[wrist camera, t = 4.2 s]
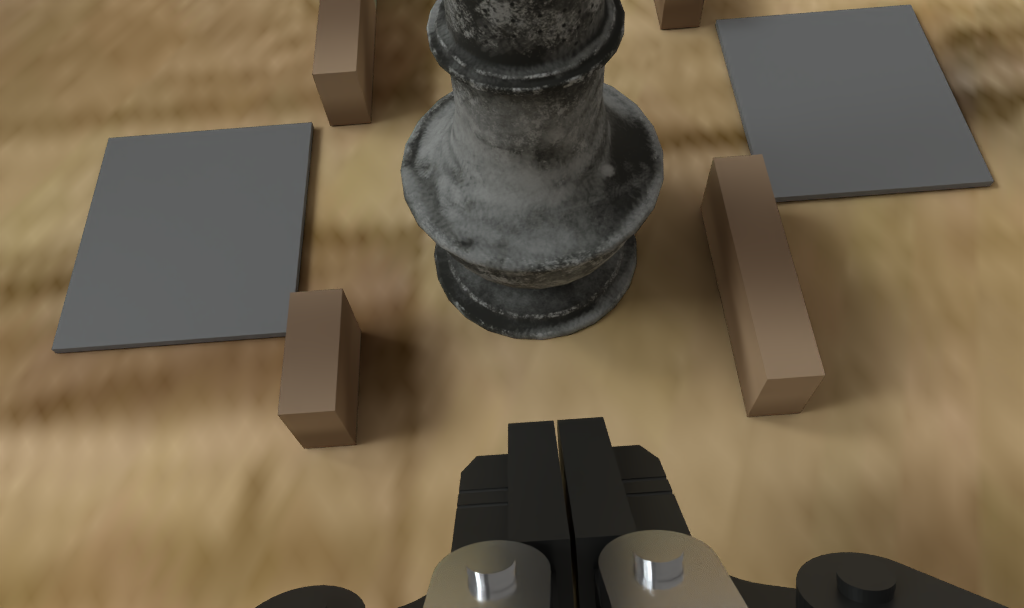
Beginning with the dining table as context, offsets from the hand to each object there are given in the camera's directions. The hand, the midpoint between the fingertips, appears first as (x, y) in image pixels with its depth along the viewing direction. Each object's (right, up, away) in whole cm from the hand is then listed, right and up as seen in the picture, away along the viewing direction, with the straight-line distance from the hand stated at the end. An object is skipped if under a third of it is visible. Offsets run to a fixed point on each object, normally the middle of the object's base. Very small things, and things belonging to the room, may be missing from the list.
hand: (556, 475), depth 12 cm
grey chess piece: (0, +4, +8) cm, 9 cm away
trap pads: (0, +7, +10) cm, 12 cm away
